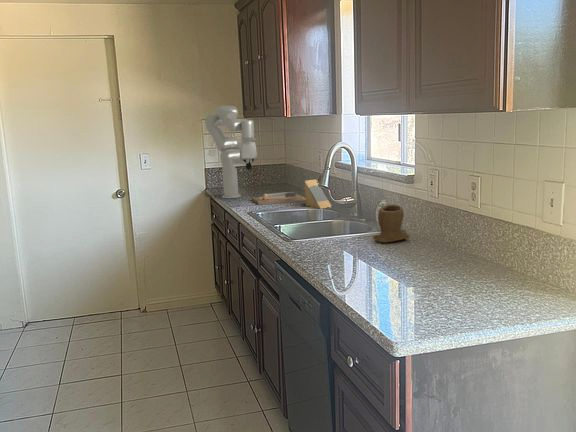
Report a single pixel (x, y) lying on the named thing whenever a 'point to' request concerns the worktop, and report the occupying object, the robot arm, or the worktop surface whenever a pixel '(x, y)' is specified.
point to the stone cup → (391, 224)
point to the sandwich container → (315, 195)
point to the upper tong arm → (279, 194)
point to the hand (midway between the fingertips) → (248, 169)
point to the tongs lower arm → (279, 196)
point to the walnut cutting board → (278, 199)
